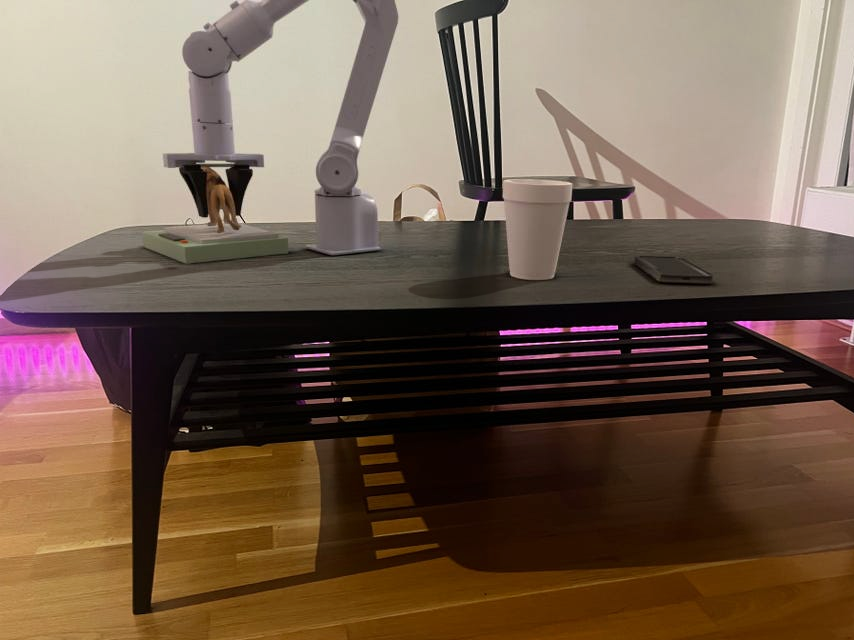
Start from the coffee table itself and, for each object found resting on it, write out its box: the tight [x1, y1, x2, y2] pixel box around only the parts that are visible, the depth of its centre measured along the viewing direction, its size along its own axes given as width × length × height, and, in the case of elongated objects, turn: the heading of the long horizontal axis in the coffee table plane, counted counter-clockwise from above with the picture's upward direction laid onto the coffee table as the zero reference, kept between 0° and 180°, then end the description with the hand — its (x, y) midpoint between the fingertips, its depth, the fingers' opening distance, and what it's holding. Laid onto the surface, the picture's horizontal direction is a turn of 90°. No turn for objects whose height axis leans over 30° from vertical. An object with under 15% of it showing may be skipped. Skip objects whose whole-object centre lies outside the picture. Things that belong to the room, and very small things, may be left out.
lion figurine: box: [201, 167, 241, 233], centre depth 107 cm, size 15×5×9 cm, turn 38°
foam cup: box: [502, 178, 573, 281], centre depth 98 cm, size 10×9×13 cm
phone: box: [633, 255, 714, 285], centre depth 105 cm, size 8×1×15 cm
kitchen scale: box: [142, 222, 289, 265], centre depth 108 cm, size 16×16×3 cm
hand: (219, 216), depth 108 cm, fingers closed on lion figurine, 4 cm apart
